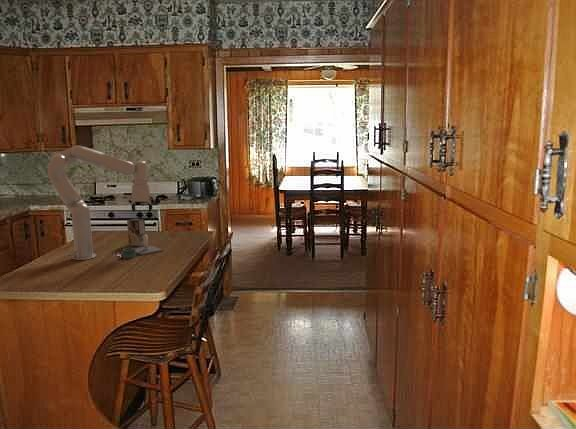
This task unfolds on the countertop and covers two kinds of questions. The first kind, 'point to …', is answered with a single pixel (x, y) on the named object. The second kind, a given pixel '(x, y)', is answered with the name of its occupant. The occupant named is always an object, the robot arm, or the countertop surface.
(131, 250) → the ring
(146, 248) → the post fixture
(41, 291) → the countertop surface
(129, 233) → the coffee box
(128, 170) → the robot arm
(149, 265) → the countertop surface
